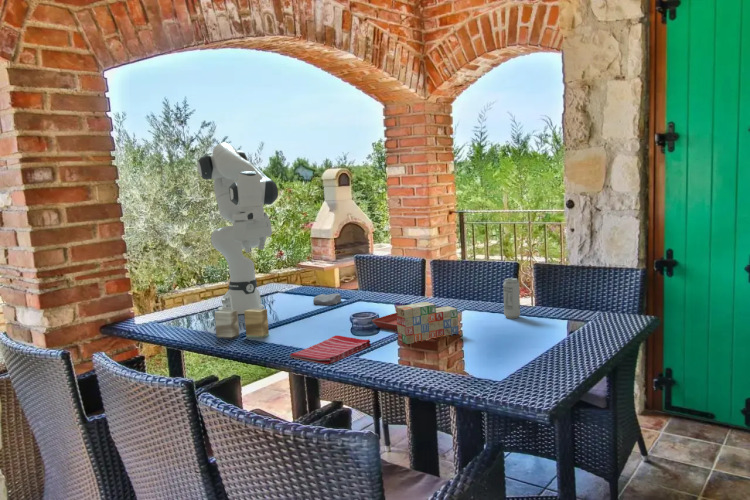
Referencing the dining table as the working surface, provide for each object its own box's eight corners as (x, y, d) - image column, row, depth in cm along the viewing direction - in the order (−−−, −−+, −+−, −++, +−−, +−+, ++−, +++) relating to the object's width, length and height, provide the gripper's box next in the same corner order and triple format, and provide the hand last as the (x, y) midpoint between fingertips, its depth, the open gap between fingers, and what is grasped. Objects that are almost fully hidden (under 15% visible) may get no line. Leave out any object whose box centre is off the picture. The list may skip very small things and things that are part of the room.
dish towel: (373, 346, 207) (372, 339, 207) (330, 366, 188) (329, 358, 187) (333, 341, 217) (333, 333, 216) (288, 359, 197) (288, 351, 197)
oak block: (262, 338, 224) (260, 311, 223) (246, 337, 227) (244, 311, 226) (268, 335, 228) (266, 309, 227) (253, 334, 231) (251, 308, 230)
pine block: (232, 339, 225) (229, 313, 224) (216, 338, 228) (214, 312, 227) (239, 336, 229) (237, 310, 228) (224, 335, 232) (222, 309, 231)
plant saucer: (437, 324, 232) (437, 316, 231) (407, 335, 219) (407, 326, 218) (401, 318, 244) (401, 310, 244) (371, 328, 231) (370, 320, 231)
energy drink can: (523, 317, 233) (522, 279, 232) (509, 319, 231) (508, 281, 230) (514, 314, 239) (513, 277, 237) (501, 316, 237) (500, 278, 235)
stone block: (335, 309, 276) (343, 300, 285) (333, 299, 275) (341, 291, 284) (311, 309, 280) (320, 301, 289) (309, 300, 279) (318, 291, 288)
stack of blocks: (449, 331, 220) (447, 297, 219) (459, 334, 215) (457, 300, 213) (397, 340, 211) (395, 306, 210) (406, 344, 206) (404, 309, 204)
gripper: (260, 212, 239) (263, 247, 240) (228, 216, 220) (232, 254, 222) (274, 212, 236) (277, 247, 238) (243, 216, 218) (246, 254, 219)
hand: (255, 250), depth 230 cm, fingers open, 7 cm apart
